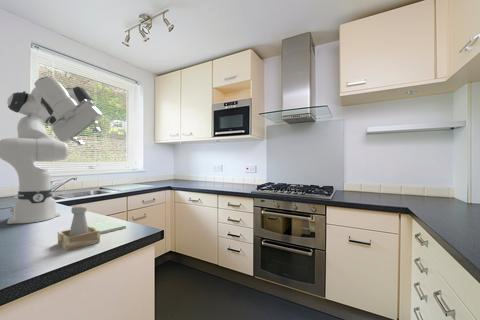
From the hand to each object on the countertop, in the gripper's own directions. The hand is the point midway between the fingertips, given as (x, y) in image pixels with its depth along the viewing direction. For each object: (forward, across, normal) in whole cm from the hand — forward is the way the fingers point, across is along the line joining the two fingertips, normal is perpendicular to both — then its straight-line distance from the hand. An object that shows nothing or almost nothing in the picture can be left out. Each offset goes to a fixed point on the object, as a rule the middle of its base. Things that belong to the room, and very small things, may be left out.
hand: (90, 138), depth 93 cm
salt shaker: (+34, +16, +21) cm, 43 cm away
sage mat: (+35, +17, +5) cm, 39 cm away
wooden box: (+34, +16, +21) cm, 43 cm away
